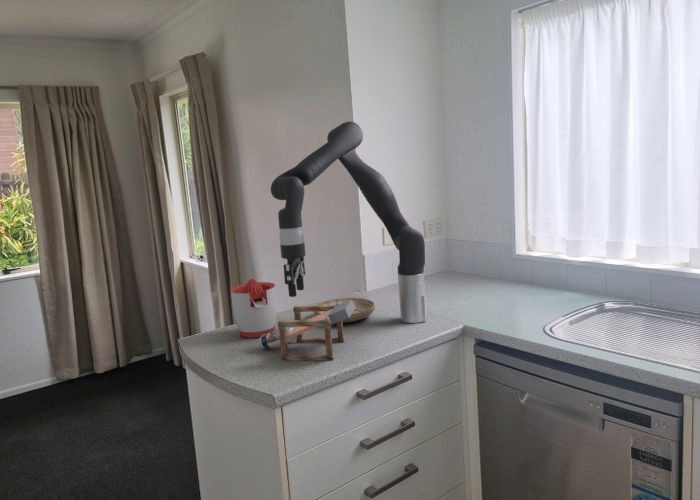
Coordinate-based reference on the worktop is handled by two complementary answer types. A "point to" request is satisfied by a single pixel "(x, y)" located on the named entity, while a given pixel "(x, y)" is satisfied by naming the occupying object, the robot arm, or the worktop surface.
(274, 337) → the beer can
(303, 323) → the frame
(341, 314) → the trapdoor
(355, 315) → the ceramic bowl
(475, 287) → the worktop surface
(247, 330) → the citrus juicer
